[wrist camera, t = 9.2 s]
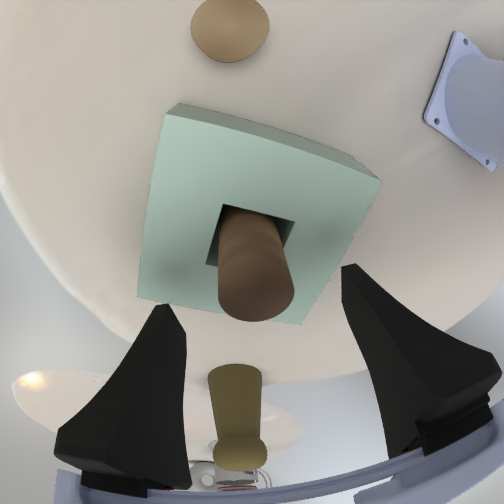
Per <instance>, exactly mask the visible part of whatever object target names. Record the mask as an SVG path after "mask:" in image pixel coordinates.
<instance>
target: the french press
mask: <svg viewBox="0 0 504 504" xmlns="http://www.w3.org/2000/svg"><path fill="white" fill-rule="evenodd" d="M217 442H218V440H215V441H212V442H210V443H209V446H210V447H211V448H212V449H213V450H214V446H215V444H216V443H217ZM214 463H215V462H214ZM258 469H260V468H258ZM260 470H262V469H260ZM253 471H255V473H256V474H254V473H253ZM262 471H263V472H265V471H264V470H262ZM257 472H259V471H257V469H254V470H250V471H243V472H234V471H227V470H223V469H221V468H219V467H218V466H217V465H216V463H215V483H216V484H220V485H233V486H222V487H219V488H218V489H217V490H218V491H241V490H254V489H257V487H256V486H251V485H246V484H252V483H254V480H256V482H258V475H257ZM259 473H260V474H261V475H262V476H263V478H264V480H265V482H266V488H267V481H266V479H265V477H264V475H263V474H262V473H261V472H259ZM265 473H266V472H265ZM266 474H267V473H266ZM267 476H268V477H269V475H268V474H267ZM231 480H236V481H231ZM269 480H270V485H271V488H272V483H271V479H270V477H269Z"/></svg>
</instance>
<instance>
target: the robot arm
mask: <svg viewBox="0 0 504 504" xmlns="http://www.w3.org/2000/svg"><path fill="white" fill-rule="evenodd" d="M463 40H464V42H465V44H464V42H463ZM435 118H436V123H434V120H435ZM424 120H425V122H426V123H427V124H429V125H430V126H432V127H433V128H435V129H436V130H438V131H439V132H440V133H442V134H443V135H445V136H446V137H447V138H449V139H450V140H451V141H453V142H454V143H455V144H457V145H458V146H459V147H461V148H462V149H463V150H464V151H466V152H467V153H468V154H469V155H471V156H472V157H473V158H474V159H476V160H477V161H478V162H479V163H480V164H482V165H483V166H484V167H485V168H486V169H487V170H489V171H490V172H493V171H494V170H495V168H496V166H497V164H499V165H501V166H502V167H504V61H502V60H497V59H492V58H488V57H487V56H486V55H485V54H484V53H483V52H482V51H481V50H480V49H479V48H478V47H477V46H476V45H475V44H474V43H473V42H472V41H471V40H470V39H469V38H468V37H467V36H465V35H464V34H463V33H462V32H461V31H455V32H454V33H453V37H452V40H451V43H450V46H449V49H448V52H447V55H446V58H445V61H444V64H443V67H442V70H441V72H440V75H439V78H438V81H437V83H436V86H435V89H434V91H433V94H432V96H431V99H430V101H429V104H428V106H427V109H426V111H425V114H424ZM341 282H342V305H343V308H344V311H345V314H346V317H347V320H348V323H349V325H350V328H351V330H352V332H353V335H354V337H355V339H356V341H357V344H358V346H359V348H360V350H361V353H362V355H363V357H364V360H365V362H366V364H367V367H368V370H369V372H370V375H371V379H372V382H373V385H374V389H375V393H376V397H377V401H378V405H379V409H380V413H381V418H382V423H383V428H384V433H385V438H386V445H387V451H388V456H389V460H387V461H384V462H381V463H378V464H375V465H372V466H369V467H366V468H363V469H359V470H356V471H352V472H349V473H345V474H341V475H337V476H333V477H328V478H324V479H320V480H315V481H310V482H305V483H299V484H293V485H287V486H280V487H272V488H265V489H254V490H241V491H221V492H188V491H187V492H186V491H168V490H174V489H178V490H179V489H180V490H187V489H189V488H190V487H191V486H192V485H193V483H192V479H191V474H190V469H189V464H188V458H187V451H186V444H185V434H184V421H183V393H184V381H185V369H186V357H187V346H186V333H185V331H184V329H183V328H182V326H181V324H180V323H179V321H178V319H177V317H176V316H175V314H174V312H173V310H172V309H171V307H170V305H169V303H167V304H162V305H156V306H155V307H154V309H153V311H152V312H151V314H150V316H149V317H148V319H147V321H146V323H145V324H144V326H143V328H142V329H141V331H140V333H139V335H138V336H137V338H136V340H135V341H134V343H133V345H132V347H131V348H130V350H129V351H128V353H127V354H126V356H125V357H124V359H123V360H122V362H121V364H120V365H119V366H118V368H117V369H116V371H115V372H114V373H113V375H112V376H111V377H110V378H109V380H108V381H107V382H106V384H105V385H104V386H103V387H102V388H101V389H100V390H99V392H98V393H97V394H96V395H95V396H94V397H93V398H92V399H91V401H90V402H89V403H88V404H87V405H86V406H85V407H84V408H82V409H81V410H80V411H79V412H78V413H77V414H76V415H75V416H74V417H73V418H71V419H70V420H69V421H68V422H66V423H65V424H64V425H63V426H61V427H60V428H59V429H58V433H57V438H56V443H55V448H54V455H55V456H56V457H57V458H58V459H60V460H62V461H63V462H66V463H68V464H70V465H72V466H74V467H76V468H78V469H81V470H82V475H79V474H76V473H73V472H69V471H65V470H61V469H58V470H57V477H56V484H55V494H54V504H278V503H285V502H292V501H298V500H304V499H309V498H315V497H320V496H325V495H329V494H333V493H338V492H342V491H345V490H349V489H352V488H357V487H360V486H363V485H367V484H370V483H373V482H376V481H379V480H382V479H385V478H388V477H391V476H393V475H394V476H393V477H392V478H391V480H390V481H388V482H385V483H382V484H379V485H377V486H374V487H371V488H368V489H365V490H362V491H359V492H358V493H357V494H355V495H354V496H353V497H354V502H355V504H446V503H448V502H449V501H451V500H453V499H454V498H456V497H458V496H460V495H461V494H463V493H464V492H466V491H467V490H469V489H470V488H472V487H474V486H475V485H477V484H478V483H479V482H481V481H482V480H484V479H485V478H486V477H488V476H489V475H491V474H492V473H493V472H495V471H496V470H497V469H499V468H500V467H501V466H503V465H504V399H502V400H501V401H499V402H498V403H496V404H495V405H494V406H492V407H491V408H489V405H488V402H489V401H490V398H489V396H488V394H487V393H488V392H489V391H490V390H491V388H492V387H493V386H494V385H495V384H496V383H497V382H498V380H499V379H500V377H501V375H502V371H501V369H500V367H499V365H498V363H497V361H496V359H495V358H494V356H493V355H492V353H490V352H487V351H485V350H482V349H479V348H476V347H474V346H471V345H469V344H467V343H464V342H462V341H460V340H458V339H456V338H454V337H452V336H450V335H448V334H446V333H444V332H443V331H441V330H439V329H437V328H435V327H434V326H432V325H431V324H429V323H427V322H426V321H424V320H423V319H421V318H420V317H418V316H417V315H416V314H414V313H413V312H411V311H410V310H409V309H407V308H406V307H405V306H404V305H402V304H401V303H400V302H398V301H397V300H396V299H395V298H394V297H392V296H391V295H390V294H389V293H388V292H387V291H385V290H384V289H383V288H382V287H381V286H380V285H379V284H378V283H376V282H375V281H374V280H373V279H372V278H371V277H370V276H369V275H368V274H367V273H366V272H365V271H364V270H363V269H361V268H360V267H359V266H358V265H357V264H356V263H354V264H350V265H346V266H342V267H341Z"/></svg>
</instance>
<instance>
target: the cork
mask: <svg viewBox="0 0 504 504" xmlns="http://www.w3.org/2000/svg"><path fill="white" fill-rule="evenodd" d="M208 383H209V390H210V396H211V402H212V408H213V414H214V420H215V425H216V431H217V436H218V442H217V443H216V444H215V446H214V450H213V459H214V462H215V463H216V465H217V466H218V467H219V468H221V469H223V470H227V471H234V472H243V471H250V470H254V469H258V468H260V467H261V466H263V465H264V464H265V462H266V460H267V449H266V447H265V444H264V442H263V441H262V440H261V439H260V417H261V388H262V375H261V372H260V371H259V370H258V369H256V368H254V367H252V366H249V365H244V364H230V365H224V366H220V367H217V368H215V369H214V370H212V371H211V372H210V373H209V374H208Z"/></svg>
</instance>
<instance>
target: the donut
mask: <svg viewBox="0 0 504 504" xmlns="http://www.w3.org/2000/svg"><path fill="white" fill-rule="evenodd" d="M190 474H191V479H192V483H193V485H192V486H191V487H190V489H191V490H192V491H193V492H221V491H218V490H217V489H218V488H219V487H222V486H227V485H220V484H216V483H215V464H214V463H210V462H200V463H197V464H195V465H194V466H192V467H191V468H190ZM205 474H209V475H210V476H211V477H212V478H213V481H214V482H213V484H212V485H211V486H205V485H204V484H203V483H202V481H201V477H202V476H203V475H205Z"/></svg>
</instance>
